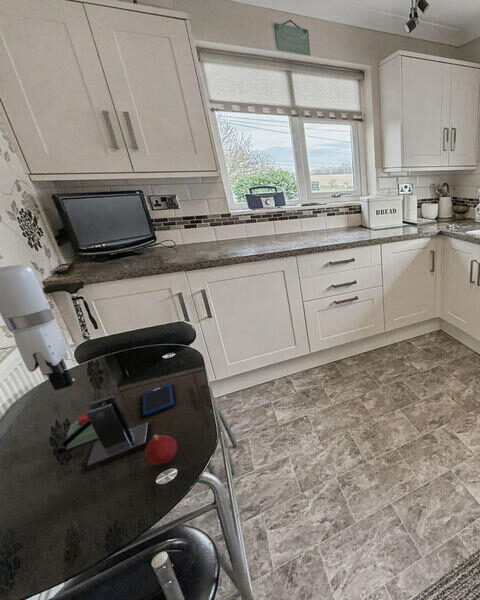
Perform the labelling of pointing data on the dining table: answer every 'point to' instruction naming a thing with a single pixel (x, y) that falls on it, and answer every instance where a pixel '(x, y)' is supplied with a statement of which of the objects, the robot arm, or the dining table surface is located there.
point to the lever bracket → (113, 433)
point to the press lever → (75, 434)
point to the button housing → (81, 435)
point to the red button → (82, 419)
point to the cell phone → (157, 400)
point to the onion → (160, 449)
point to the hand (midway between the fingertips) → (64, 386)
